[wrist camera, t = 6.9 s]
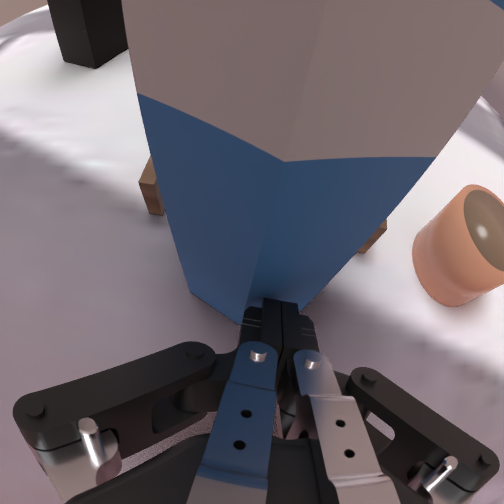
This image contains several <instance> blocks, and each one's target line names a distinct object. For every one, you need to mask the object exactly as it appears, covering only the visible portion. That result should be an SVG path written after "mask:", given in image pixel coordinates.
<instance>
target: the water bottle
mask: <svg viewBox="0 0 504 504" xmlns="http://www.w3.org/2000/svg"><path fill="white" fill-rule="evenodd" d="M121 1H122V8H123V16H124V23H125V29H126V36H127V42H128V48H129V54H130V59H131V65H132V70H133V76H134V81H135V86H136V91H137V96H138V101H139V106H140V110H141V115H142V119H143V124H144V128H145V133H146V137H147V141H148V145H149V150H150V154H151V158H152V162H153V166H154V170H155V174H156V178H157V181H158V185H159V189H160V193H161V196H162V200H163V204H164V207H165V211H166V215H167V218H168V222H169V225H170V229H171V232H172V235H173V239H174V242H175V245H176V249H177V252H178V255H179V258H180V262H181V265H182V268H183V271H184V274H185V278H186V281H187V284H188V287H189V290H190V292H191V293H193V294H194V295H196V296H197V297H199V298H200V299H201V300H203V301H204V302H206V303H207V304H209V305H210V306H212V307H213V308H215V309H216V310H218V311H219V312H221V313H222V314H224V315H225V316H227V317H228V318H230V319H231V320H233V321H234V322H236V323H237V324H239V325H242V320H243V315H244V311H245V310H246V309H247V308H248V307H249V306H254V307H259V308H261V306H262V301H263V298H264V297H266V298H271V299H276V300H280V301H281V300H282V301H287V302H293V303H297V304H298V309H299V312H300V311H301V310H302V309H303V308H304V307H305V306H306V305H307V304H308V303H309V302H310V301H311V300H312V299H313V298H314V297H315V296H316V295H317V294H318V293H319V292H320V291H321V290H322V289H323V288H324V287H325V286H326V284H327V283H328V282H329V281H330V280H331V279H332V278H333V277H334V276H335V275H336V274H337V273H338V272H339V271H340V270H341V269H342V268H343V266H344V265H345V264H346V263H347V262H348V261H349V260H350V259H351V258H352V257H353V256H354V254H355V253H356V252H357V251H358V250H359V249H360V248H361V247H362V246H363V245H364V243H365V242H366V241H367V240H368V239H369V238H370V237H371V236H372V234H373V233H374V232H375V231H376V230H377V229H378V228H379V226H380V225H381V224H382V223H383V222H384V221H385V219H386V218H387V217H388V216H389V215H390V214H391V212H392V211H393V210H394V209H395V208H396V207H397V205H398V204H399V203H400V202H401V201H402V199H403V198H404V197H405V196H406V195H407V193H408V192H409V191H410V190H411V188H412V187H413V186H414V185H415V184H416V182H417V181H418V180H419V179H420V177H421V176H422V175H423V174H424V172H425V171H426V170H427V169H428V167H429V166H430V165H431V163H432V162H433V161H434V160H435V158H436V157H437V156H438V154H439V153H440V152H441V150H442V149H443V148H444V146H445V145H446V144H447V142H448V141H449V140H450V138H451V137H452V136H453V134H454V133H455V132H456V130H457V129H458V128H459V126H460V125H461V123H462V122H463V121H464V119H465V118H466V116H467V115H468V114H469V112H470V111H471V109H472V108H473V106H474V105H475V103H476V102H477V101H478V99H479V98H480V96H481V95H482V93H483V92H484V90H485V89H486V87H487V86H488V84H489V83H490V81H491V79H492V78H493V76H494V75H495V73H496V72H497V70H498V69H499V67H500V65H501V64H502V62H503V61H504V0H121Z"/></svg>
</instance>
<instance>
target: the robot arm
mask: <svg viewBox="0 0 504 504" xmlns="http://www.w3.org/2000/svg"><path fill="white" fill-rule="evenodd" d="M314 330H315V329H314V325H313V322H312V321H311V320H310V319H309V317H308V316H305V315H299V309H298V304H297V303H293V302H287V301H282V300H281V301H280V300H276V299H271V298H266V297H264V298H263V301H262V306H261V308H259V307H254V306H249V307H248V308H247V309H246V310H245V311H244V315H243V320H242V325H241V330H240V335H239V340H238V346H237V348H236V349H235V350H234V351H232V352H230V353H226V354H215V352H214V351H213V349H212V348H210V347H209V346H207V345H205V344H203V343H200V342H192V341H190V342H184V343H181V344H178V345H175V346H173V347H170V348H167V349H164V350H162V351H159V352H156V353H154V354H151V355H148V356H145V357H142V358H140V359H137V360H134V361H131V362H128V363H125V364H122V365H120V366H117V367H114V368H111V369H108V370H105V371H102V372H99V373H96V374H93V375H89V376H86V377H83V378H80V379H77V380H74V381H71V382H67V383H64V384H61V385H57V386H54V387H51V388H47V389H44V390H41V391H37V392H34V393H30V394H27V395H24V396H22V397H21V398H20V399H18V401H17V402H16V403H15V405H14V408H13V417H14V420H15V422H16V424H17V426H18V428H19V429H20V431H21V433H22V435H23V437H24V439H25V441H26V442H27V444H28V446H29V448H30V449H31V451H32V453H33V454H34V456H35V458H36V459H37V461H38V463H39V464H40V466H41V467H42V469H43V470H44V472H45V473H46V475H47V476H48V477H49V479H50V481H51V482H52V484H53V486H54V488H55V490H56V491H57V493H58V495H59V497H60V498H61V500H62V502H63V503H64V504H469V503H470V502H471V500H472V498H473V496H474V495H475V494H476V493H477V492H478V491H479V490H480V489H482V487H483V486H484V485H485V484H486V483H487V482H488V481H489V480H490V479H491V478H492V477H493V476H494V475H495V474H496V473H497V472H498V470H499V467H500V464H499V459H498V457H497V456H496V454H495V453H494V452H493V451H492V450H491V449H489V448H488V447H486V446H485V445H483V444H482V443H480V442H479V441H477V440H476V439H474V438H473V437H471V436H470V435H468V434H467V433H465V432H464V431H462V430H461V429H459V428H458V427H456V426H455V425H453V424H452V423H450V422H449V421H448V420H446V419H445V418H443V417H442V416H440V415H439V414H437V413H436V412H434V411H433V410H432V409H430V408H429V407H427V406H426V405H424V404H423V403H421V402H420V401H419V400H417V399H416V398H414V397H413V396H411V395H410V394H409V393H407V392H406V391H404V390H403V389H402V388H400V387H399V386H397V385H396V384H394V383H393V382H392V381H390V380H389V379H387V378H386V377H385V376H383V375H382V374H380V373H379V372H377V371H376V370H373V369H371V368H366V367H359V368H356V369H354V370H353V371H352V373H351V375H350V376H348V375H345V374H342V373H339V372H336V371H334V370H333V368H332V365H331V362H330V360H329V359H328V358H327V357H326V356H325V355H323V354H322V353H320V352H319V348H318V343H317V339H316V334H315V331H314ZM276 397H277V402H278V403H277V406H276ZM275 406H276V418H277V428H278V437H275V436H272V432H273V424H274V415H275ZM211 411H217V415H216V418H215V421H214V424H213V427H212V430H211V433H206V434H201V435H196V436H193V437H190V438H188V439H185V440H183V441H181V442H179V443H177V444H176V445H174V446H172V447H170V448H169V449H167V450H165V451H164V452H162V453H160V454H158V455H157V456H155V457H153V458H151V459H149V460H147V461H146V462H144V463H142V464H140V465H138V466H136V467H134V468H133V469H131V470H129V471H127V472H125V473H123V474H121V475H119V476H117V475H118V474H119V472H120V471H121V468H122V459H125V458H127V457H129V456H131V455H133V454H135V453H137V452H140V451H142V450H144V449H146V448H148V447H150V446H152V445H154V444H156V443H158V442H160V441H162V440H164V439H166V438H168V437H170V436H172V435H174V434H175V433H177V432H179V431H181V430H183V429H185V428H187V427H189V426H190V425H192V424H194V423H196V422H198V421H199V420H201V419H203V418H204V417H205V416H206V414H207V412H211ZM370 412H372V413H374V414H375V415H376V416H377V417H379V418H380V419H381V420H383V421H384V422H385V423H387V424H388V425H389V426H390V427H392V428H393V430H394V432H395V438H394V439H393V440H390V439H389V438H388V437H386V436H385V435H384V434H382V433H381V432H380V431H379V430H377V429H376V428H375V427H374V426H372V425H371V424H370V423H369V422H367V421H366V419H367V417H368V416H369V414H370ZM115 476H117V477H115ZM114 477H115V478H114ZM112 478H113V479H112Z"/></svg>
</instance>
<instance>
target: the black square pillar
mask: <svg viewBox="0 0 504 504" xmlns="http://www.w3.org/2000/svg"><path fill="white" fill-rule="evenodd" d="M47 1H48V6H49V10H50V14H51V18H52V21H53V25H54V29H55V33H56V36H57V40H58V43H59V46H60V50H61V53H62V56H63V60H64V61H67V62H68V63H69V62H70V63H75V64H79V65H83V66H87V67H91V68H97V67H99V66H100V65H102V64H103V63H105V62H106V61H108V60H109V59H111V58H112V57H114V56H115V55H117V54H119V53H120V52H122V51H123V50H125V49H127V48H128V42H127V36H126V29H125V23H124V16H123V8H122V1H121V0H47Z"/></svg>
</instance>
